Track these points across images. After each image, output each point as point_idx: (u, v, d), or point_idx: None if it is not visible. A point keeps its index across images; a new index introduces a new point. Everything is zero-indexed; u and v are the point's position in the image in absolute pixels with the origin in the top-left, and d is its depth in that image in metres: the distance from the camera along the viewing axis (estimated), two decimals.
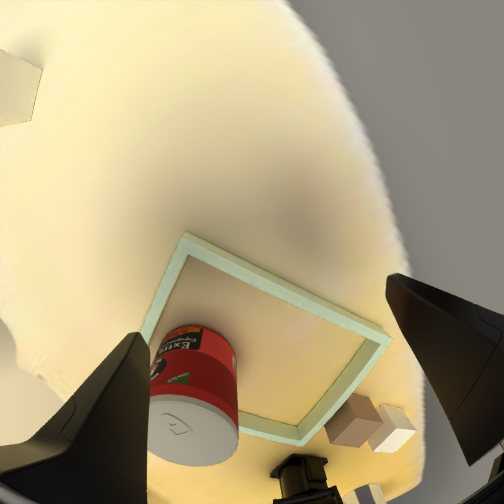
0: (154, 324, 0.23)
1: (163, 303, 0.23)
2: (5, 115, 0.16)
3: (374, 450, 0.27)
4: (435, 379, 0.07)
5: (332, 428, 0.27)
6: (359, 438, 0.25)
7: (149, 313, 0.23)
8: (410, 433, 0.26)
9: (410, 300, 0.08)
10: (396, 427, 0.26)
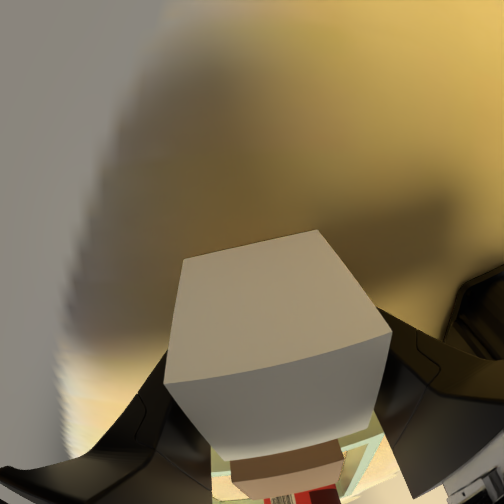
0: None
1: None
2: None
3: (362, 427, 0.07)
4: (376, 405, 0.07)
5: None
6: (306, 477, 0.09)
7: None
8: (205, 400, 0.05)
9: None
10: (223, 457, 0.07)
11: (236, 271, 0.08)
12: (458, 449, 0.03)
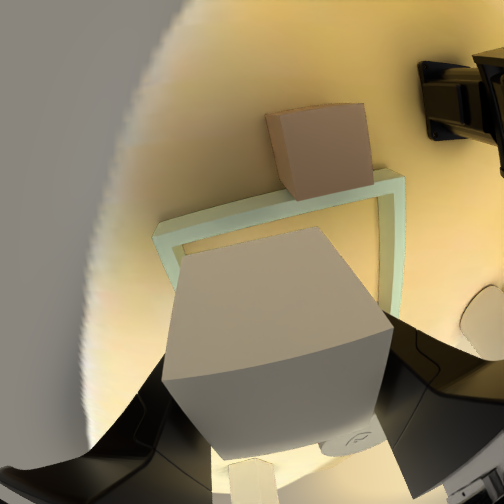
0: None
1: None
2: (258, 478, 0.36)
3: (363, 426, 0.07)
4: (376, 405, 0.07)
5: None
6: (341, 131, 0.13)
7: None
8: (203, 397, 0.05)
9: None
10: (222, 456, 0.07)
11: (236, 268, 0.08)
12: (458, 449, 0.03)
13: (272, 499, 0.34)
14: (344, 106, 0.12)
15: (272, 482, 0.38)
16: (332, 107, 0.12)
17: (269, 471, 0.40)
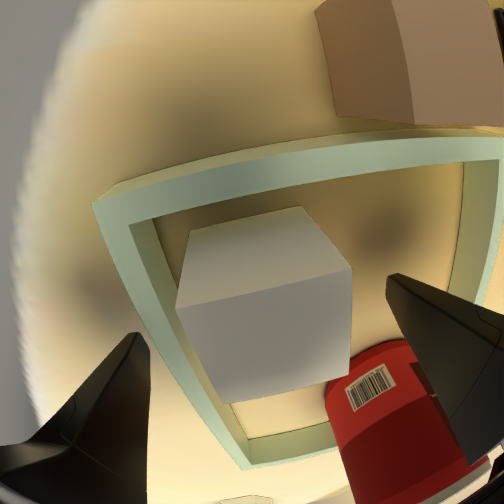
0: None
1: (312, 453, 0.18)
2: None
3: (343, 373, 0.09)
4: (435, 379, 0.07)
5: None
6: (470, 24, 0.04)
7: (330, 451, 0.18)
8: (206, 325, 0.07)
9: (410, 300, 0.08)
10: (221, 400, 0.09)
11: (233, 235, 0.10)
12: None
13: None
14: None
15: None
16: None
17: None
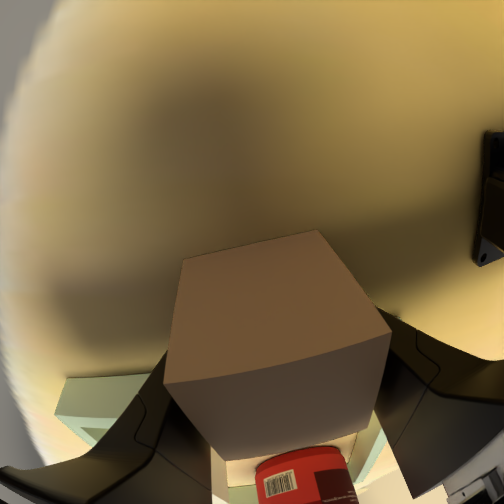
0: None
1: None
2: None
3: (225, 503, 0.11)
4: (376, 405, 0.07)
5: None
6: (319, 392, 0.06)
7: None
8: None
9: None
10: None
11: None
12: (458, 449, 0.03)
13: None
14: (339, 350, 0.05)
15: None
16: (306, 356, 0.05)
17: None
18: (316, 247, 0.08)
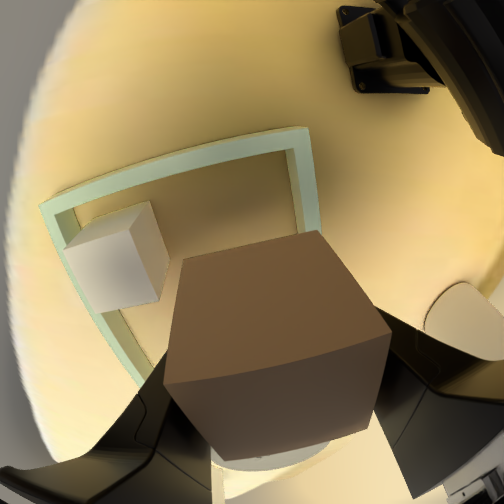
0: None
1: None
2: None
3: (155, 299, 0.15)
4: (376, 405, 0.07)
5: None
6: (319, 392, 0.06)
7: None
8: (75, 259, 0.14)
9: None
10: (95, 311, 0.15)
11: (105, 219, 0.16)
12: (458, 449, 0.03)
13: None
14: (339, 351, 0.05)
15: (219, 488, 0.35)
16: (306, 357, 0.05)
17: (216, 477, 0.36)
18: (316, 247, 0.08)
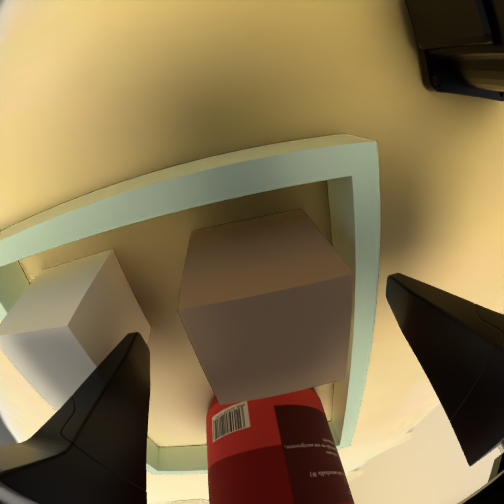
0: None
1: None
2: None
3: None
4: (435, 379, 0.07)
5: None
6: (298, 326, 0.08)
7: None
8: (9, 350, 0.07)
9: (410, 300, 0.08)
10: (54, 406, 0.09)
11: (52, 279, 0.10)
12: None
13: None
14: (312, 285, 0.07)
15: None
16: (286, 288, 0.07)
17: None
18: (300, 220, 0.10)
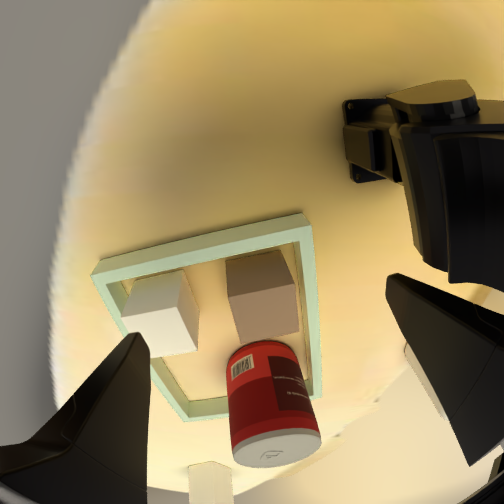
0: None
1: (227, 413, 0.29)
2: (213, 479, 0.38)
3: (194, 349, 0.21)
4: (435, 379, 0.07)
5: None
6: (274, 303, 0.19)
7: None
8: (131, 324, 0.19)
9: (410, 300, 0.08)
10: None
11: (149, 286, 0.22)
12: None
13: (226, 500, 0.36)
14: (278, 287, 0.19)
15: (228, 485, 0.40)
16: (268, 288, 0.19)
17: (225, 475, 0.42)
18: (278, 257, 0.22)
